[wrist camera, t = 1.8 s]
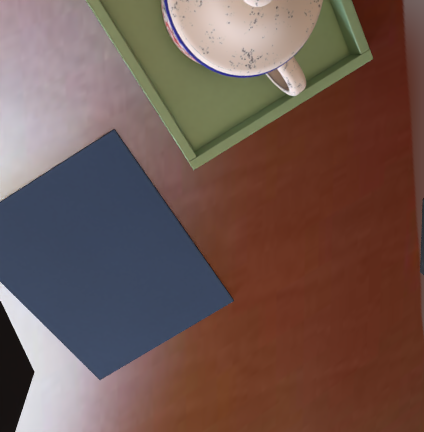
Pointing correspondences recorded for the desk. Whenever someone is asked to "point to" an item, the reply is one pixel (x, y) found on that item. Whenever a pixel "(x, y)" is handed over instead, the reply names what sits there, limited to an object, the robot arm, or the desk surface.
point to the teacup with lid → (244, 36)
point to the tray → (220, 84)
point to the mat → (104, 258)
